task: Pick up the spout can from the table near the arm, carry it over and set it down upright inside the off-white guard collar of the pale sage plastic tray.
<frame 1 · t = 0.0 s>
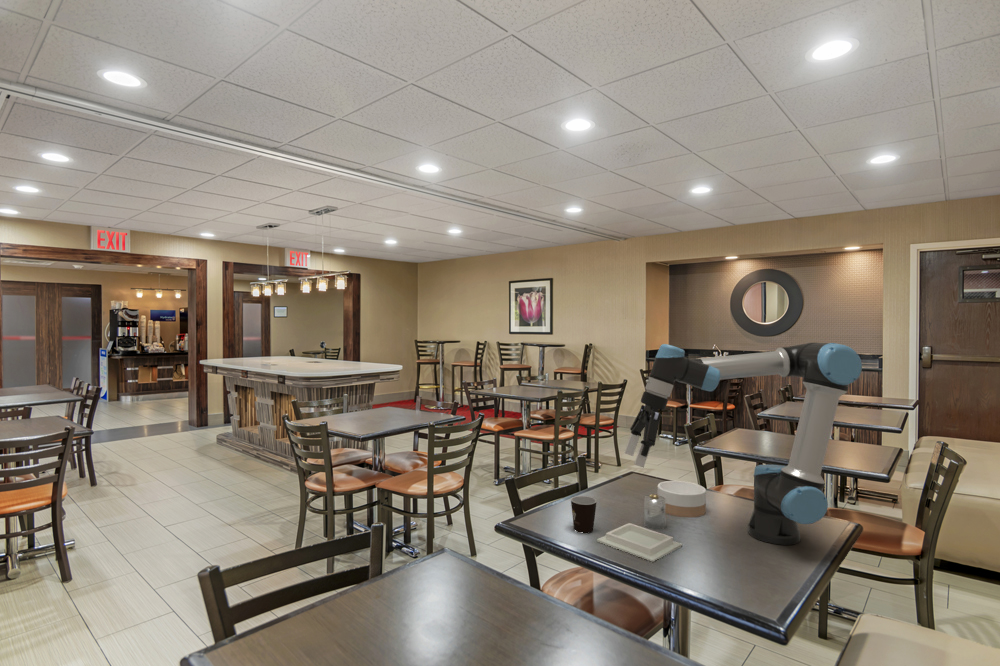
hand: (633, 460, 158), 28 cm above the table, tool tilted 20°, fingers open, 13 cm apart
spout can: (654, 525, 179), on the table
guarded tray: (639, 544, 163), on the table
bowl: (681, 509, 195), on the table
coffee mug: (583, 528, 176), on the table
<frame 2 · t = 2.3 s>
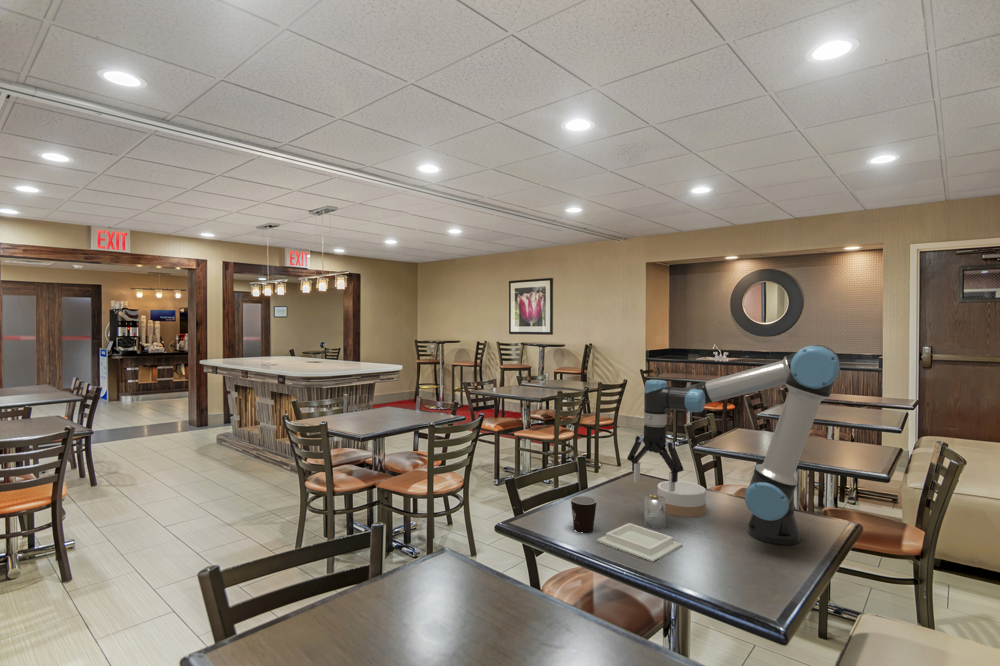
hand: (653, 486, 179), 13 cm above the table, tool pointing down, fingers open, 13 cm apart
nothing on the table moved.
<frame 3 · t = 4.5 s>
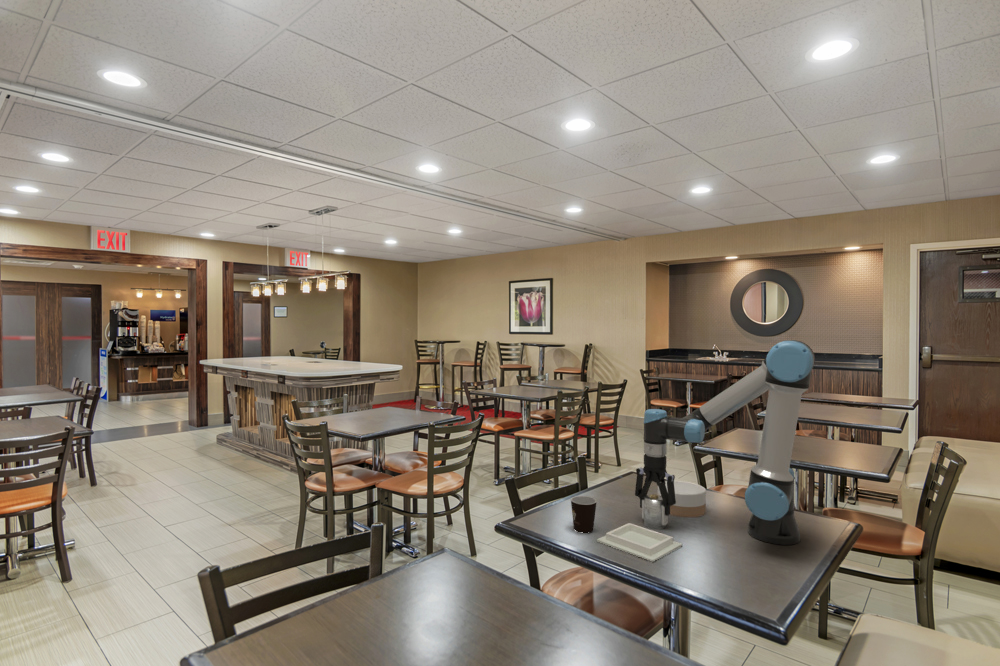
hand: (654, 520, 179), 2 cm above the table, tool pointing down, fingers closed on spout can, 7 cm apart
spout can: (654, 525, 179), on the table, touching gripper
everything else where it was.
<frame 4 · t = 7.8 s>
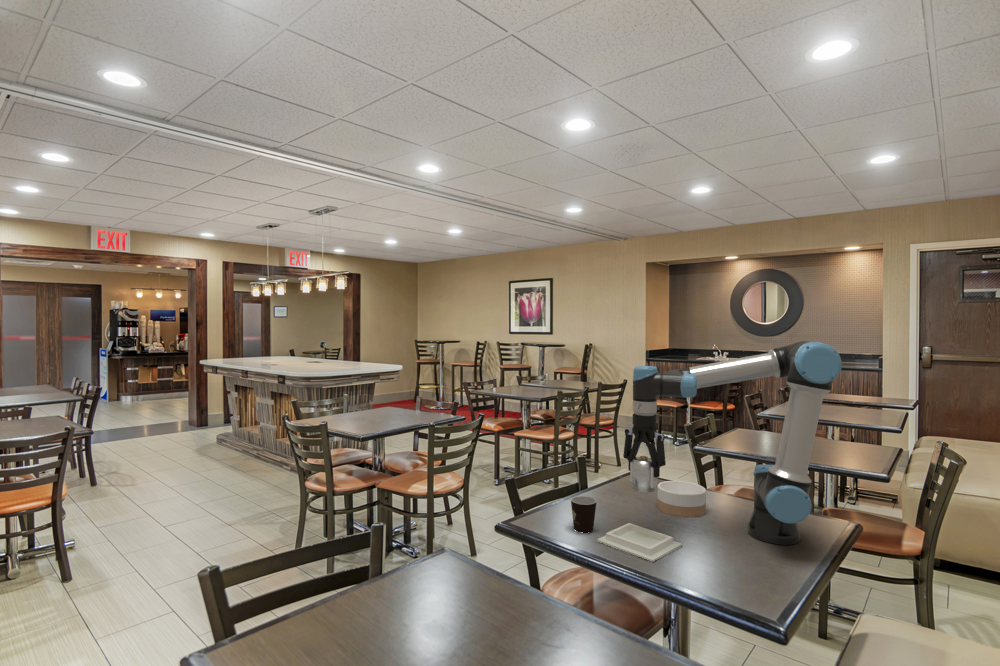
hand: (643, 483, 168), 17 cm above the table, tool pointing down, fingers closed on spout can, 7 cm apart
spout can: (643, 488, 168), point 16 cm above the table, touching gripper
everything else where it was.
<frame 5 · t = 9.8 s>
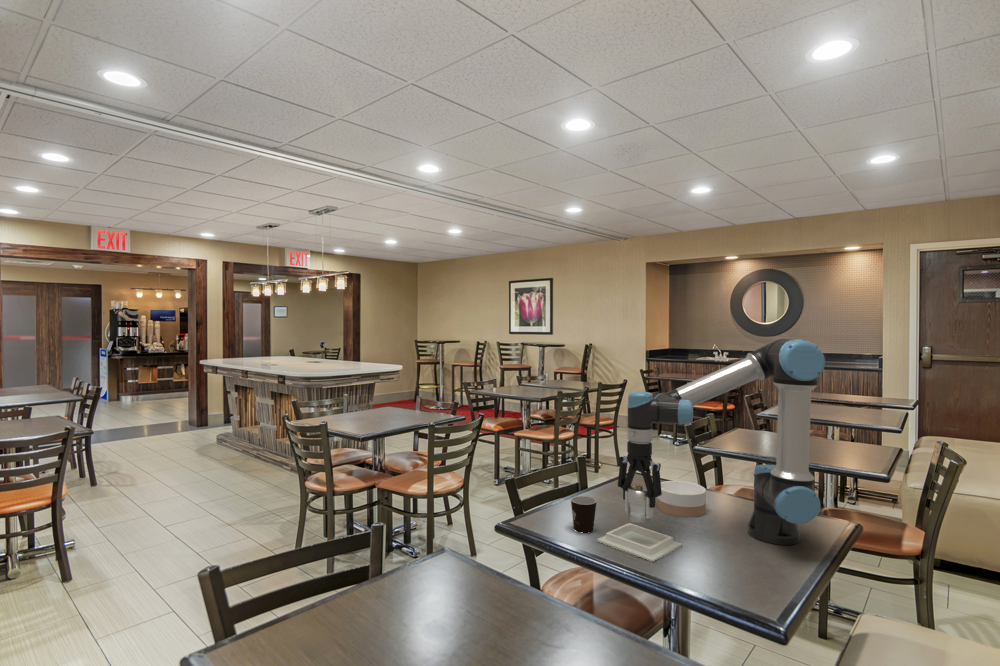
hand: (638, 513, 163), 10 cm above the table, tool pointing down, fingers closed on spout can, 7 cm apart
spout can: (638, 518, 163), point 8 cm above the table, touching gripper
everything else where it was.
when the fingers open (4 cm above the table, at t = 11.6 s): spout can drops 2 cm, resting on guarded tray.
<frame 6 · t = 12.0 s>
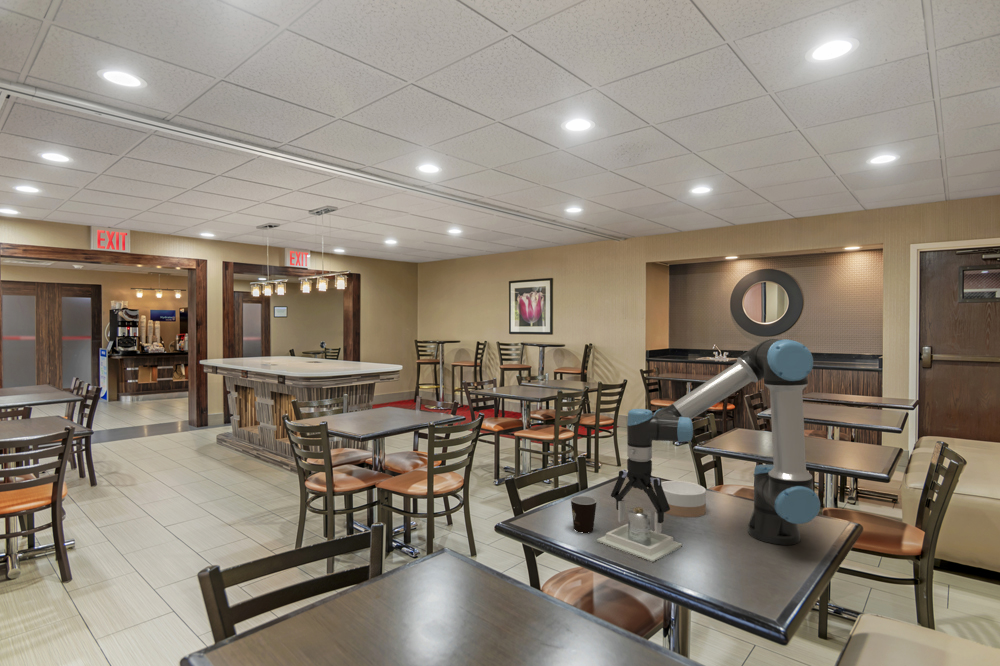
hand: (639, 526, 163), 6 cm above the table, tool pointing down, fingers open, 12 cm apart
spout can: (639, 541, 163), point 1 cm above the table, touching guarded tray
everything else where it was.
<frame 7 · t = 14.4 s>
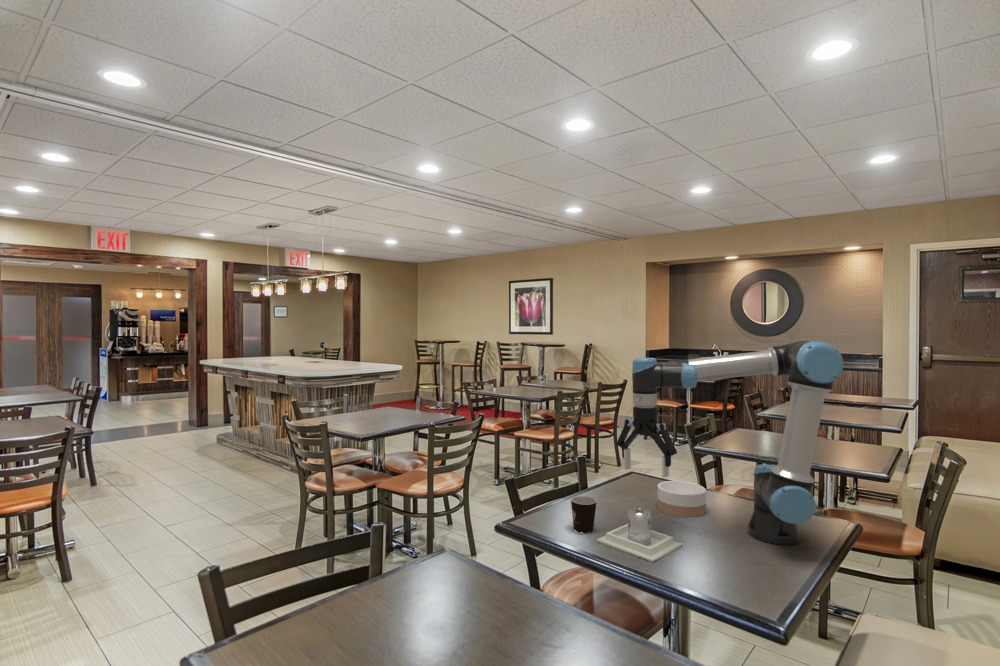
hand: (645, 472, 166), 22 cm above the table, tool pointing down, fingers open, 13 cm apart
nothing on the table moved.
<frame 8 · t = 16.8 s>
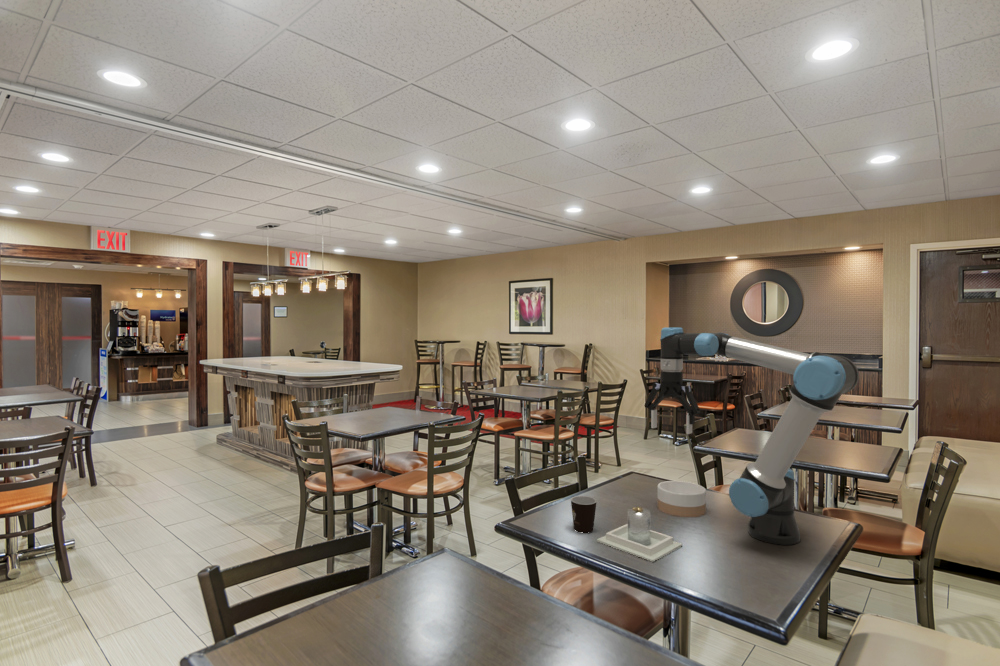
hand: (671, 430, 184), 32 cm above the table, tool pointing down, fingers open, 13 cm apart
nothing on the table moved.
at the end: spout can inside the target area on the guarded tray (0.0 cm from its centre), point 0.9 cm above the guarded tray's base; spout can tilted 1°; the gripper is holding nothing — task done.
